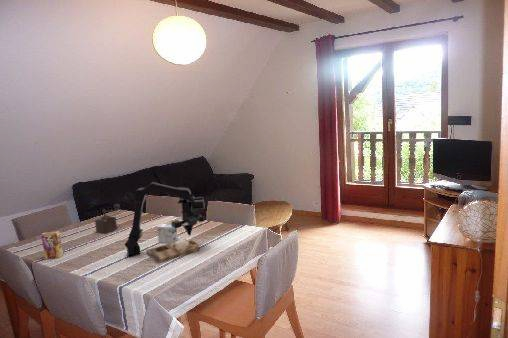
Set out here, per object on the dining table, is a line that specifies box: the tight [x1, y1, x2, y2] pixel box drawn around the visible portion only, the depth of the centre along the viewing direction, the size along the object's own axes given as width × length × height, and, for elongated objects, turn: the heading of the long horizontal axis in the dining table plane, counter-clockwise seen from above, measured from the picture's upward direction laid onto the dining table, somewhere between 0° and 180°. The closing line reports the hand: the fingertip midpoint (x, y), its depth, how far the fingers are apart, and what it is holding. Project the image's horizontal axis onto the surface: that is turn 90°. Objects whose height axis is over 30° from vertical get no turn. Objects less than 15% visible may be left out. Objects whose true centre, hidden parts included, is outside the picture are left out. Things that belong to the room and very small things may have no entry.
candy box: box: [40, 231, 64, 260], centre depth 213 cm, size 9×4×15 cm, turn 96°
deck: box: [145, 238, 200, 264], centre depth 209 cm, size 25×19×4 cm
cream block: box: [175, 239, 189, 251], centre depth 208 cm, size 6×6×4 cm
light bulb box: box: [156, 223, 179, 244], centre depth 227 cm, size 11×7×11 cm, turn 74°
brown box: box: [94, 203, 121, 235], centre depth 258 cm, size 16×11×18 cm
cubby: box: [173, 239, 199, 253], centre depth 210 cm, size 12×10×2 cm
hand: (189, 235), depth 210 cm, fingers closed
